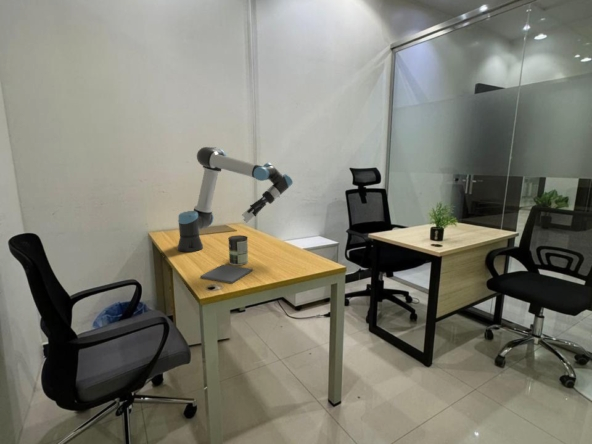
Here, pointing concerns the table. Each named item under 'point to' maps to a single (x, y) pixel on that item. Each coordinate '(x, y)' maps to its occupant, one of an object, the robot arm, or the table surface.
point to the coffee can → (238, 250)
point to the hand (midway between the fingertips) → (244, 219)
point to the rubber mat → (226, 273)
